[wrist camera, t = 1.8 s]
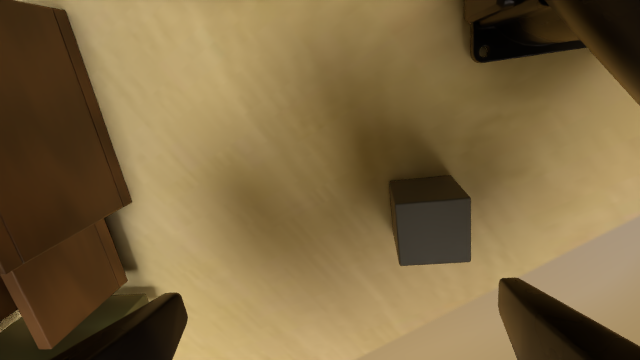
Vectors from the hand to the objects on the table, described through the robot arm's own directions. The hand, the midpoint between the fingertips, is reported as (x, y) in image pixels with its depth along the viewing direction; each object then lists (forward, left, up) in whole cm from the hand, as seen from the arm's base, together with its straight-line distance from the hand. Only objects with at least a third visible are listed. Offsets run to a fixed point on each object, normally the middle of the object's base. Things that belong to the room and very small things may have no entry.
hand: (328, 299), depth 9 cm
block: (-4, +2, -11) cm, 12 cm away
